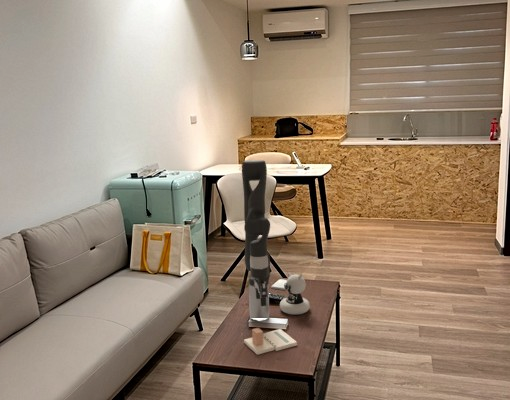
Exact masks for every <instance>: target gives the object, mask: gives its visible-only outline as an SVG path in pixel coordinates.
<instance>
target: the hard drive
mask: <svg viewBox="0 0 510 400" xmlns="http://www.w3.org/2000/svg"><path fill="white" fill-rule="evenodd" d="M286 282H287V279H283V278H280V279H278V280H277V281H276V282H274V284H272V285H271V286H270V289H275V290H280V291H286V290H287V289H285V288H284V284H285V283H286Z"/></svg>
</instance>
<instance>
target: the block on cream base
mask: <svg viewBox="0 0 510 400" xmlns="http://www.w3.org/2000/svg"><path fill="white" fill-rule="evenodd" d="M251 333H252V334H251V335H252V336H251V337H249V338H245V339H244V340H243V343H244V344H245V345H246V346H247V347H248V348H249V349H250V350H252V352H254V353H255V354H256V355H261V354H264V353H268V352H272V351H275V349H274V346H272V345H271V344H270V343H269V342H268V341H267V340H265V339H264V338H263V333H264V331H263V330H262V329H261V328H260V327H256V328H253V329H251Z"/></svg>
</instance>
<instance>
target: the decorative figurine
mask: <svg viewBox="0 0 510 400" xmlns="http://www.w3.org/2000/svg"><path fill="white" fill-rule="evenodd" d="M287 274H288V278H287V279H286V280H287V282H286V283H285V284H284V288H285V289H286V290H287V291H288V295H287V297H285V298H283V299H282V300H281V301H280V303H279V307H280V311H282V312H283V313H285V314H288V315H294V316H295V315H303V314H305V313H307V312H308V311H309V310H310V306H311V305H310V301H309V300H308V299H306V298H304V297H303V296H302V293H303V292H304V291H305V289H306V280H305V278H304V277H303V276H302V274H303V273H300V274H297V273H296V274H292V273H290V272H289V271H287Z"/></svg>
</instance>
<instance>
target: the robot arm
mask: <svg viewBox="0 0 510 400" xmlns="http://www.w3.org/2000/svg"><path fill="white" fill-rule="evenodd" d="M267 172H268V171H267V162H266V161H265V160H264V159H251V160H249V159H248V160H243V161H242V163H241V176H242V179H241V180H242V186H243V187H242V189H243V202H244V203H243V208H244V209H243V211H244V212H243V213H244V215H243V216H244V218H243V219H244V228H243V229H244V233H245V239H244V240H245V241H244V265H245V268H246V270H247V271H248V272H250V277H248V289H249V290H248V291H249V292H248V295H249V297H248V304H249V310H248V312H249V319H250V318H268V319H269V318H270V291H269V290H270V287H269V286H270V284H269V282H270V281H269V280H270V276H271V275H270V273H271V258H270V254H269V251H268V239H269V234H270V229H271V223H270V222H271V221H270V220H269V219H268V218H266V217H265V213H266V188H267V175H268V173H267ZM252 181H253V182H255V181H258V183H257V185H256V187H255V188H253V187H252V186H251V183H250V182H252ZM252 188H253V189H252ZM260 236H261V237H260ZM259 237H260V238H259Z"/></svg>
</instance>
